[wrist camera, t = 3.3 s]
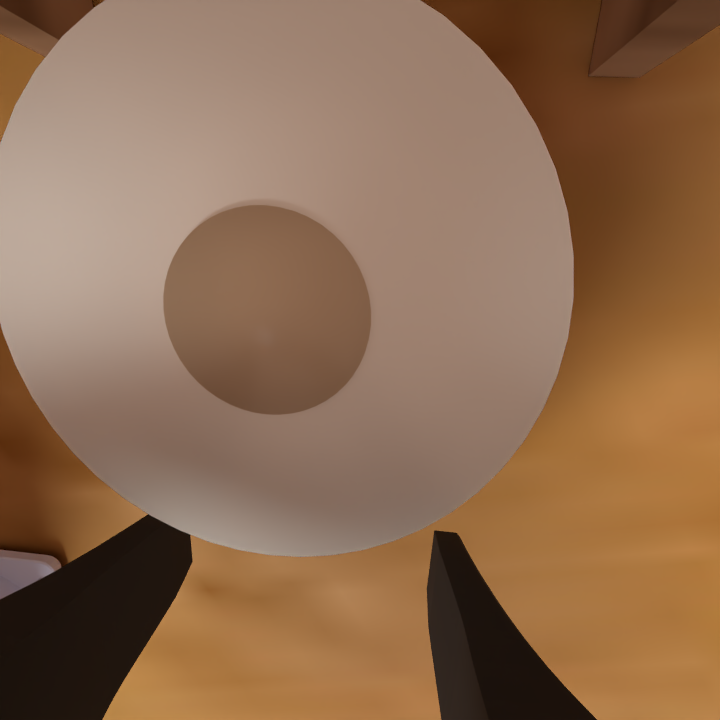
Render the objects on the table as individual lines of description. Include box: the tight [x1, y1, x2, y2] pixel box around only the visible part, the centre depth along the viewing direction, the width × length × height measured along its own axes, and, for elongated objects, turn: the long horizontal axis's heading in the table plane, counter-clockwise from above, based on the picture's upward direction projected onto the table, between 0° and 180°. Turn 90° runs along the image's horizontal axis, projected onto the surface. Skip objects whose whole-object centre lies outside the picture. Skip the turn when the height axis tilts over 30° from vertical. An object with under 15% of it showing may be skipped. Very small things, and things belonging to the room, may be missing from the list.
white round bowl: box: [0, 0, 574, 557], centre depth 9 cm, size 9×9×6 cm
